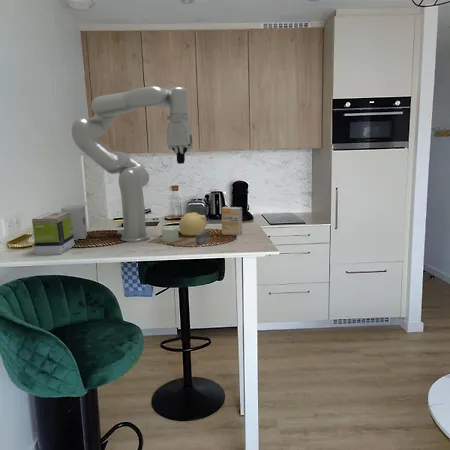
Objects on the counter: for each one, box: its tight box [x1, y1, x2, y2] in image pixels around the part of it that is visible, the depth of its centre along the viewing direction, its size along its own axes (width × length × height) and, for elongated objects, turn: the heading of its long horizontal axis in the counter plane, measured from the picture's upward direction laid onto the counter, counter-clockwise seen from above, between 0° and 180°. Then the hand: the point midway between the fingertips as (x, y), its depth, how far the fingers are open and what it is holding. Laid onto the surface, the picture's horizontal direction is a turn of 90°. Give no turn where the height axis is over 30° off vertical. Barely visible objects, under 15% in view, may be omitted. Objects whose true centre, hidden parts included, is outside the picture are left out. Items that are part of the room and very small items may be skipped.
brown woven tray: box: [146, 229, 211, 246], centre depth 179 cm, size 24×12×5 cm, turn 70°
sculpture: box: [178, 212, 207, 237], centre depth 193 cm, size 12×12×11 cm
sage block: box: [161, 227, 179, 242], centre depth 180 cm, size 5×5×5 cm
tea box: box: [31, 211, 76, 256], centre depth 171 cm, size 15×10×15 cm, turn 178°
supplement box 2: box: [221, 206, 243, 236], centre depth 190 cm, size 8×5×13 cm, turn 68°
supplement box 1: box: [60, 204, 88, 241], centre depth 193 cm, size 9×9×15 cm
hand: (180, 163), depth 180 cm, fingers closed
